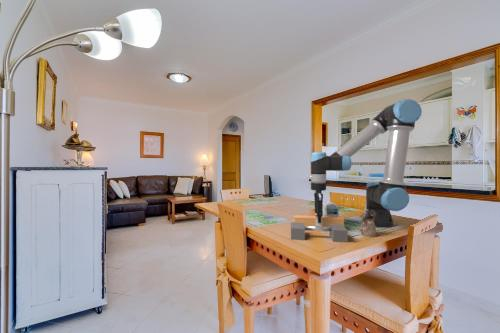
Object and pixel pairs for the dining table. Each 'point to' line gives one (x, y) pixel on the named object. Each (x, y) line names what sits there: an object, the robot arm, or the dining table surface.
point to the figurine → (367, 224)
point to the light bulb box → (330, 209)
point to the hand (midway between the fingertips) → (318, 227)
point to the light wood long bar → (312, 220)
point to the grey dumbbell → (335, 230)
